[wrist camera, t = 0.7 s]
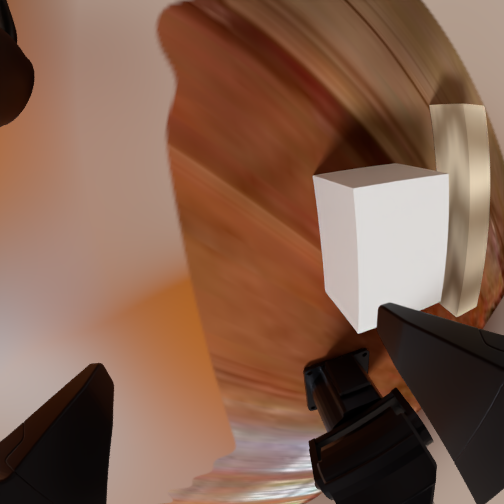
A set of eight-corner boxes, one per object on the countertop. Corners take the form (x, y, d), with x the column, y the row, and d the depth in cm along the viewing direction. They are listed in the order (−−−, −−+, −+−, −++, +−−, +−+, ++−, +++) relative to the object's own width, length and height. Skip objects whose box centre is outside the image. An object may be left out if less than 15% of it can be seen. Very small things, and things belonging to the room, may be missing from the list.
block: (397, 268, 23) (440, 301, 18) (324, 290, 23) (358, 333, 17) (394, 163, 20) (448, 173, 14) (311, 175, 19) (352, 188, 14)
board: (451, 288, 25) (476, 306, 21) (432, 297, 25) (456, 317, 21) (451, 106, 18) (484, 106, 15) (429, 105, 18) (463, 103, 15)
